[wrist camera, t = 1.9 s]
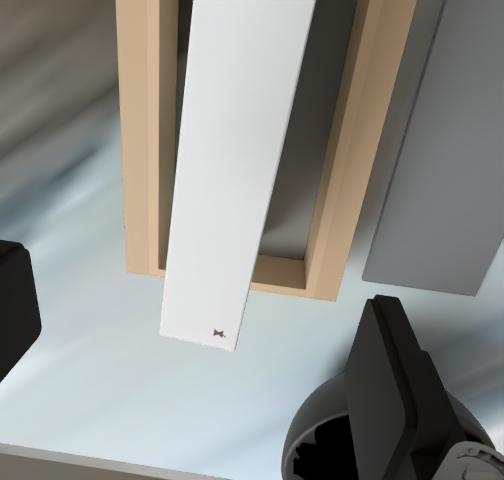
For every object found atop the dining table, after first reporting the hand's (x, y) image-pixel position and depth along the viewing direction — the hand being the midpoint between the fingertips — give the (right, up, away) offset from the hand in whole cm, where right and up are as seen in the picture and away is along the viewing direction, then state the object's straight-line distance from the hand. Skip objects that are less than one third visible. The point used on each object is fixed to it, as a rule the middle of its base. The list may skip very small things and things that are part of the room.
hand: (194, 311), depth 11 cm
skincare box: (+2, +12, +22) cm, 25 cm away
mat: (+19, +9, +22) cm, 31 cm away
